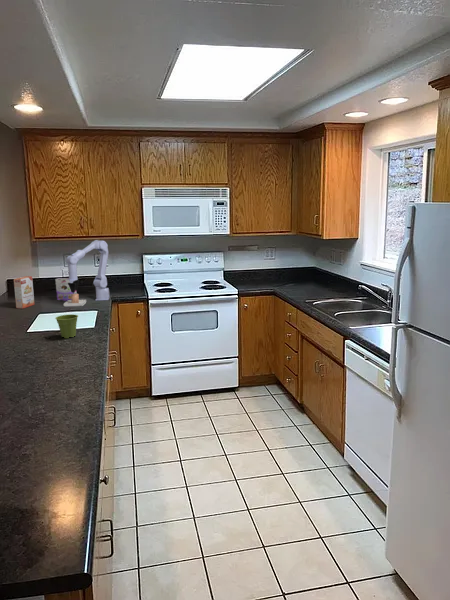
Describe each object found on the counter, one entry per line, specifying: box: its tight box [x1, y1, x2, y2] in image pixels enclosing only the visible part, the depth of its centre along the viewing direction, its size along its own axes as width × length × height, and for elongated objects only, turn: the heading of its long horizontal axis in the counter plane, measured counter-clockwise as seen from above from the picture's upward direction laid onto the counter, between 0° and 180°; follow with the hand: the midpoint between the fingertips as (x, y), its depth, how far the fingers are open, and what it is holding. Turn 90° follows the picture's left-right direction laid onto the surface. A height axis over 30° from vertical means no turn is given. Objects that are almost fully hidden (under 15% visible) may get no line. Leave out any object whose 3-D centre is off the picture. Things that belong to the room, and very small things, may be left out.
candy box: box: [54, 277, 78, 302], centre depth 367 cm, size 14×6×16 cm, turn 84°
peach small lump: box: [71, 293, 80, 303], centre depth 351 cm, size 5×5×7 cm
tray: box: [63, 299, 87, 307], centre depth 352 cm, size 13×13×2 cm
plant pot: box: [54, 314, 79, 339], centre depth 266 cm, size 12×12×11 cm
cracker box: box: [13, 275, 35, 310], centre depth 346 cm, size 14×6×21 cm, turn 168°
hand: (74, 291), depth 350 cm, fingers open, 7 cm apart
